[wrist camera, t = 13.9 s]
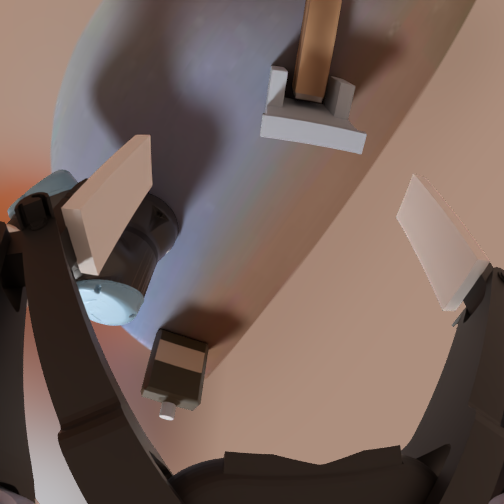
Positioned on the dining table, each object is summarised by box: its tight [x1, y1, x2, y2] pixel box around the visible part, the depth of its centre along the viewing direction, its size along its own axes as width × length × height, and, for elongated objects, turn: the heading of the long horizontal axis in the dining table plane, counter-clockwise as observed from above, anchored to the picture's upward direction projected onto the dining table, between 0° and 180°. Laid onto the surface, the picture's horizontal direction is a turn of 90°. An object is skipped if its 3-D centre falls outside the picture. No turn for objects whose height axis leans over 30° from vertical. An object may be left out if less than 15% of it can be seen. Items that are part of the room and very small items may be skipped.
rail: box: [292, 0, 342, 103], centre depth 34 cm, size 4×17×6 cm, turn 173°
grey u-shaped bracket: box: [260, 65, 367, 154], centre depth 36 cm, size 12×7×15 cm, turn 84°
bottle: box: [141, 329, 208, 420], centre depth 76 cm, size 8×16×25 cm, turn 66°
